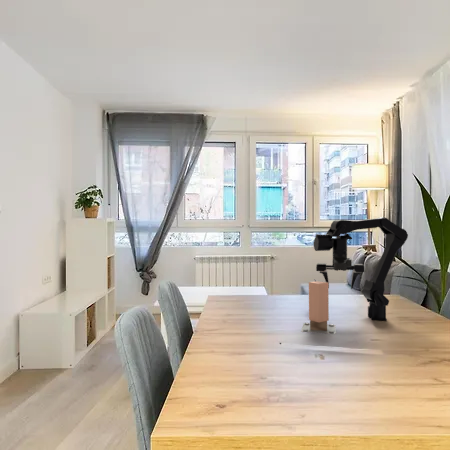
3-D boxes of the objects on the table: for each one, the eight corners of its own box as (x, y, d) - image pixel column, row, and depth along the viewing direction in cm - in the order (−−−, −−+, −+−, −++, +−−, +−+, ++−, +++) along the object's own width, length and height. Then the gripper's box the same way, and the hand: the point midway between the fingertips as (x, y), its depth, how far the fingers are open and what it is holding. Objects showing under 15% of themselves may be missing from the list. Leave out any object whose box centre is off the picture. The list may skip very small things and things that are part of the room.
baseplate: (335, 328, 150) (335, 324, 150) (335, 337, 139) (335, 332, 139) (303, 326, 154) (303, 322, 154) (301, 335, 142) (301, 330, 142)
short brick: (327, 326, 148) (327, 318, 148) (327, 331, 143) (327, 322, 142) (310, 325, 150) (310, 317, 150) (310, 329, 144) (310, 321, 144)
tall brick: (318, 317, 150) (318, 280, 149) (328, 320, 145) (328, 282, 145) (309, 319, 147) (308, 282, 147) (318, 322, 143) (318, 283, 143)
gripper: (315, 251, 157) (315, 291, 157) (365, 252, 152) (365, 293, 152) (316, 249, 168) (316, 286, 168) (363, 250, 163) (363, 288, 163)
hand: (339, 288), depth 162 cm, fingers open, 9 cm apart
